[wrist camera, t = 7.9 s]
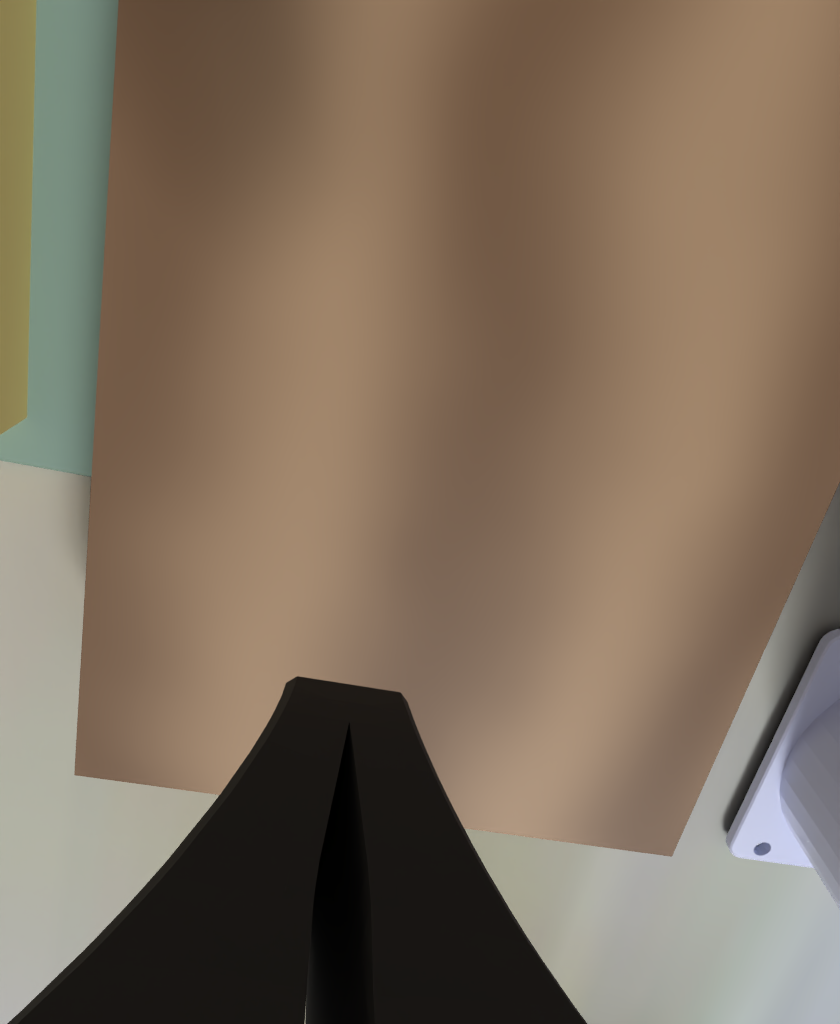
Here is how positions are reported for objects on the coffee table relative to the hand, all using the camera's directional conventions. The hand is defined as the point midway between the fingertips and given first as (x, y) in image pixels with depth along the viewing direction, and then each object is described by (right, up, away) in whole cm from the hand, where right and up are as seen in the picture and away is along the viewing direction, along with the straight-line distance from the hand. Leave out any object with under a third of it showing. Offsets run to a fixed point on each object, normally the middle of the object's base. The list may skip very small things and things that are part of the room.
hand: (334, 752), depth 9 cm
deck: (+2, +6, +9) cm, 11 cm away
